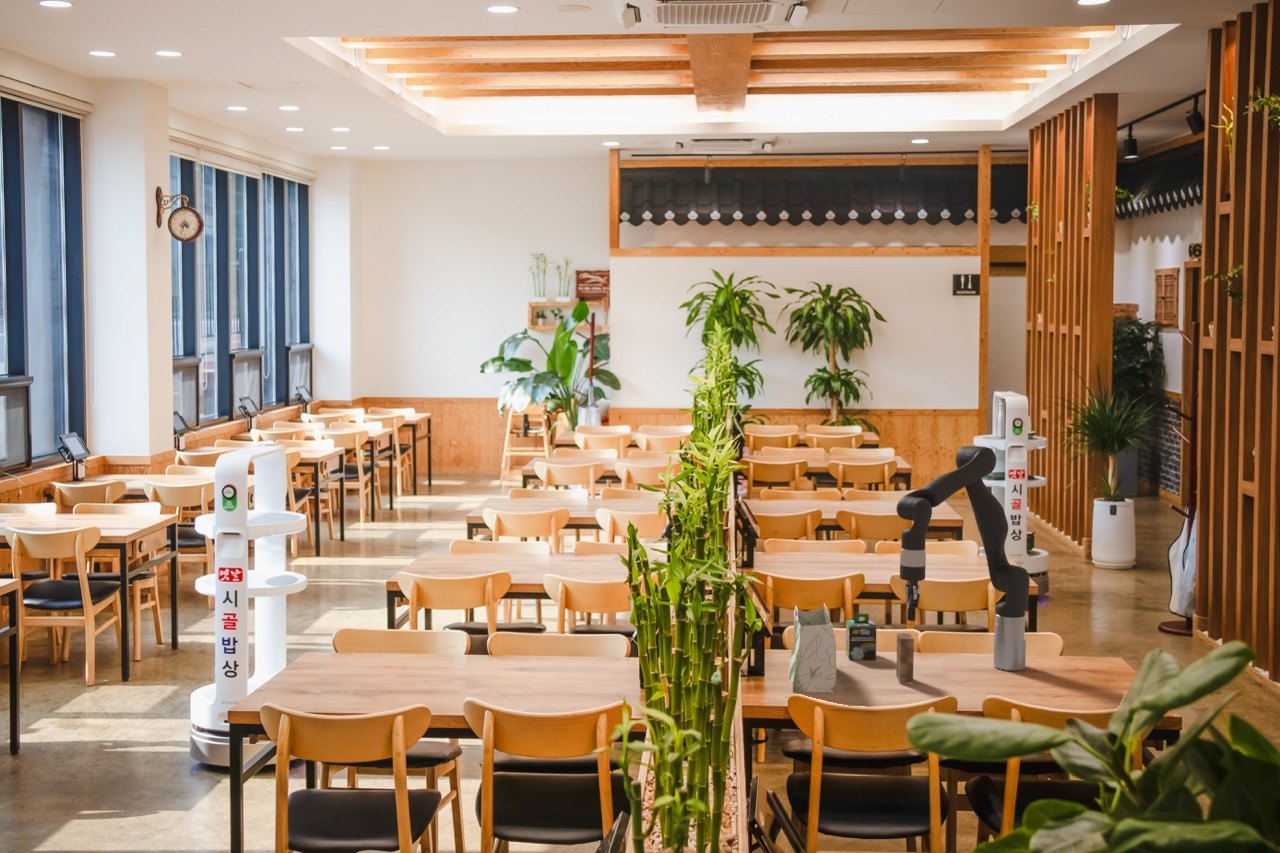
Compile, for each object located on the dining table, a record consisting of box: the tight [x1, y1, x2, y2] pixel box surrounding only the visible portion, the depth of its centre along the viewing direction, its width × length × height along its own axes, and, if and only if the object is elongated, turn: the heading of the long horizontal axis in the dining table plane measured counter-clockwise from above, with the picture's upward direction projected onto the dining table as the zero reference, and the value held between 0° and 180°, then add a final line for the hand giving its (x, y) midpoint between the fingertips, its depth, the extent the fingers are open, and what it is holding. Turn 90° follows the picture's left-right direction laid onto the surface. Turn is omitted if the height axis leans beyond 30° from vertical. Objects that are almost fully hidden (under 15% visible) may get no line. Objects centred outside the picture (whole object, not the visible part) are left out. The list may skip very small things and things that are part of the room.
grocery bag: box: [788, 603, 837, 693], centre depth 404 cm, size 32×14×23 cm, turn 175°
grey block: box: [895, 632, 915, 685], centre depth 402 cm, size 4×7×14 cm, turn 178°
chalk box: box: [845, 613, 877, 661], centre depth 430 cm, size 9×9×15 cm
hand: (911, 620), depth 391 cm, fingers closed
